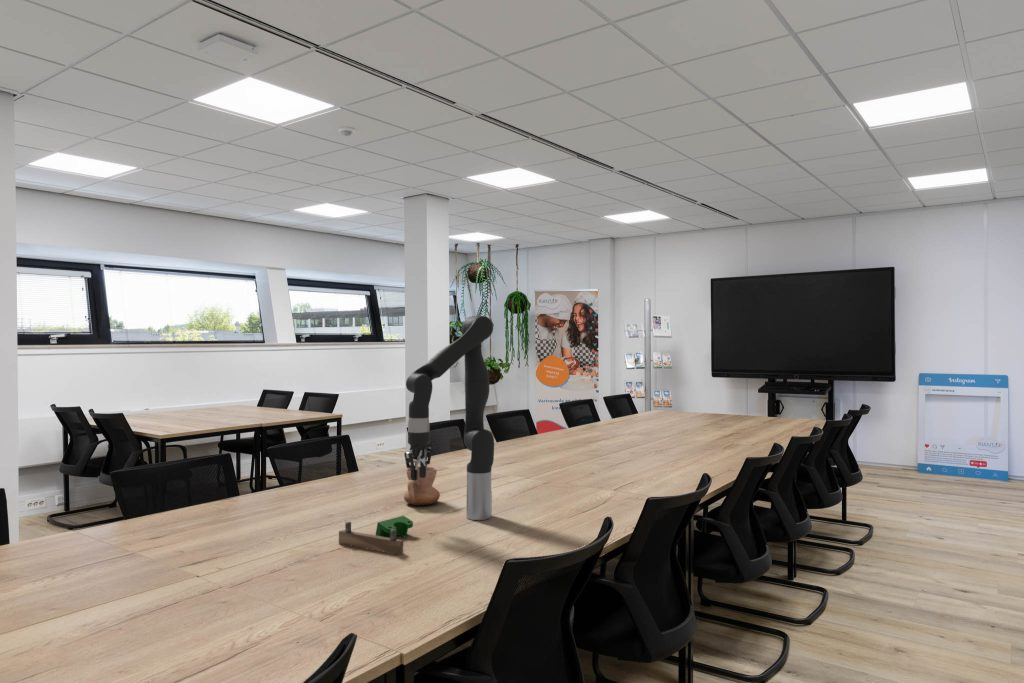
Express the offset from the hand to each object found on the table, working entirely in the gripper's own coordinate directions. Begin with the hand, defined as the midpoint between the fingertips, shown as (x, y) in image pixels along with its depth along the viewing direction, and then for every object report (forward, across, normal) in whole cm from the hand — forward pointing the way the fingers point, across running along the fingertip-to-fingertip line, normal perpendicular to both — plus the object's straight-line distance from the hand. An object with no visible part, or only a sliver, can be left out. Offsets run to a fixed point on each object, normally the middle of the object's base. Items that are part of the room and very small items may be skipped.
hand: (418, 478), depth 227 cm
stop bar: (+17, -26, 0) cm, 31 cm away
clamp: (+18, -13, 0) cm, 22 cm away
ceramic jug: (+18, +29, +19) cm, 39 cm away
